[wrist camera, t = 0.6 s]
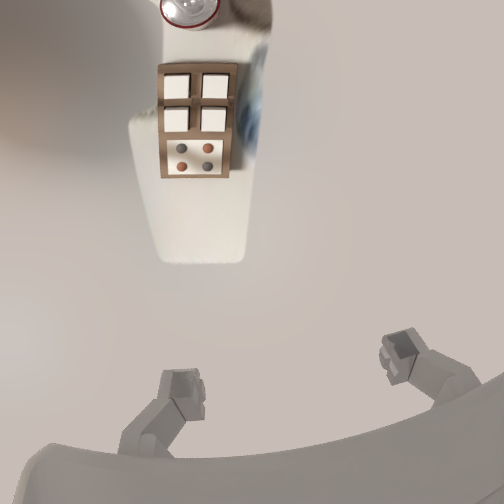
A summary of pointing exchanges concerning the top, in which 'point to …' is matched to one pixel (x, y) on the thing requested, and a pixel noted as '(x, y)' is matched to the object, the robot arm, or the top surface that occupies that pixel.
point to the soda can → (190, 13)
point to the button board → (196, 125)
